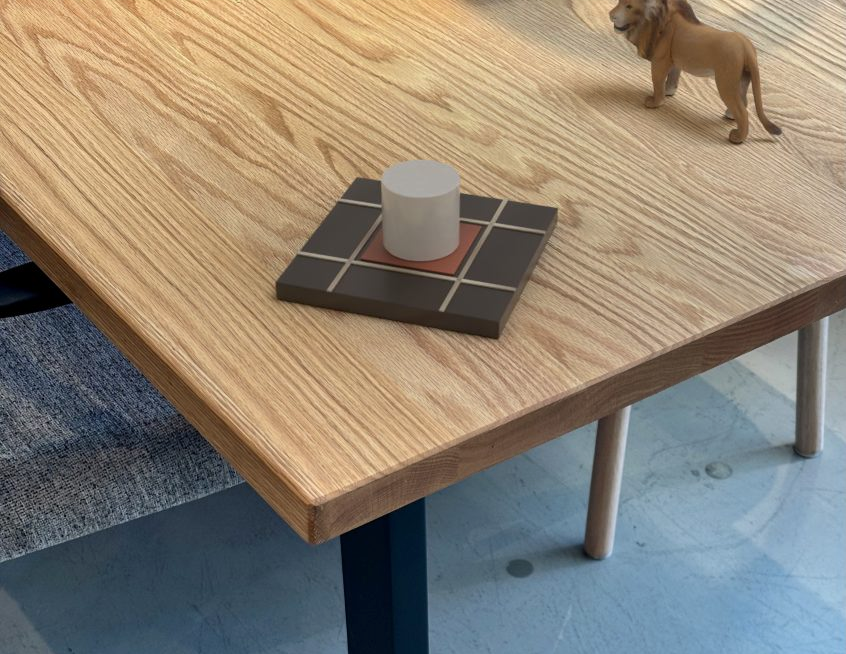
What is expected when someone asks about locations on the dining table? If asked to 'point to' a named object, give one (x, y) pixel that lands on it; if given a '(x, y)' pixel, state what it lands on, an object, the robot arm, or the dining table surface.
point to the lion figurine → (692, 56)
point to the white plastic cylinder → (420, 210)
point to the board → (421, 264)
